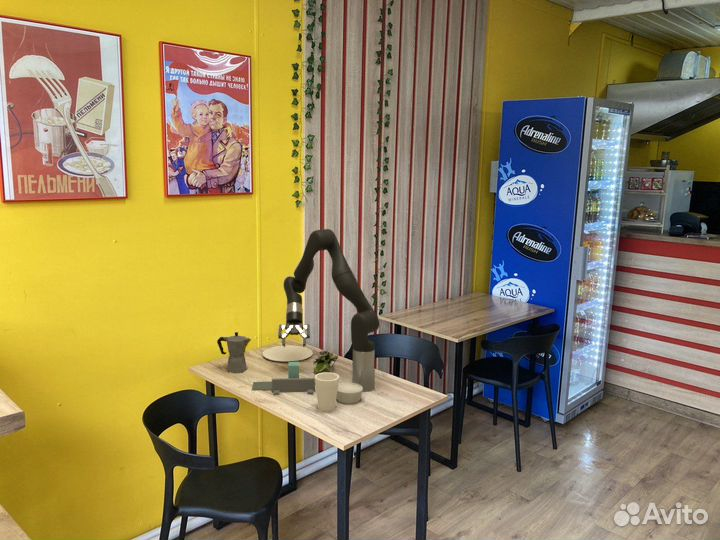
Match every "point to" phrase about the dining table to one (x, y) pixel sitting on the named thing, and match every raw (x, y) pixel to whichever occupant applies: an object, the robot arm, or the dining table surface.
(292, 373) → the block
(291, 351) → the plate
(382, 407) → the dining table surface
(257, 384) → the mat
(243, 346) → the coffeepot
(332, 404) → the foam cup
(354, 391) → the ramekin
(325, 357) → the passion flower
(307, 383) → the screen
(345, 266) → the robot arm
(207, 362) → the dining table surface
